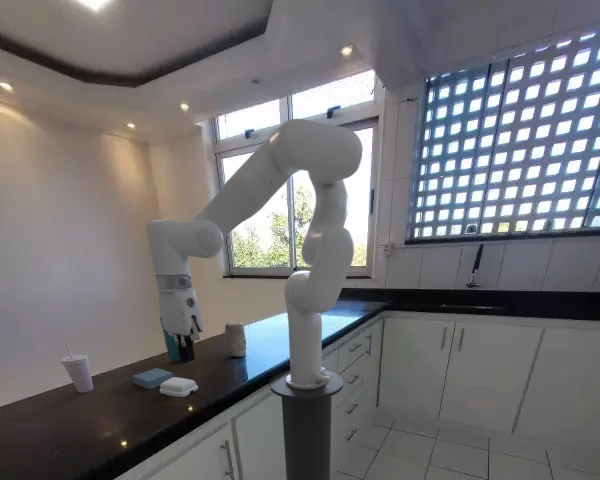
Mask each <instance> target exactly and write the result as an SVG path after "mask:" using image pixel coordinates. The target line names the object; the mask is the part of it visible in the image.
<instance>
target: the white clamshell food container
mask: <svg viewBox="0 0 600 480" xmlns="http://www.w3.org/2000/svg"><path fill="white" fill-rule="evenodd" d="M159 387H160V388H159V393H160V394H163V395H167V396H172V397H176V398H177V397H178V398H185V397H187V396H189V395H190V394H191V392H196V391H198V390H199V385H197V383H196V380H193V379H190V378H189V379H188V378H184V377H177V376H173V378H171V379H169V380H167V381H165V382H163V383H161V385H160V386H159Z"/></svg>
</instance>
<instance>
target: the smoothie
mask: <svg viewBox="0 0 600 480" xmlns="http://www.w3.org/2000/svg"><path fill="white" fill-rule="evenodd" d="M65 346H66V349H67V351H68V353H69V355H68V356H65V357H62V358H61V359H59V361H60V364H61V365H63V367H64V368H65V370H66V373H67V374H68V376H69V378H70V380H71V382H72V383H73V385H74V387H75V388H76V391H77V393H79V394H80V393H81V394H83V393H89V392H90V391H91V392H92V391H93V390H94V385H93V379H92V374H91V369H90V364H89V356H88V354H84V353H83V354H82V353H80V354H79V353H77V354H73V352H72V349H71V347H70V344H69V342H68V341H67V342H65Z"/></svg>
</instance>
